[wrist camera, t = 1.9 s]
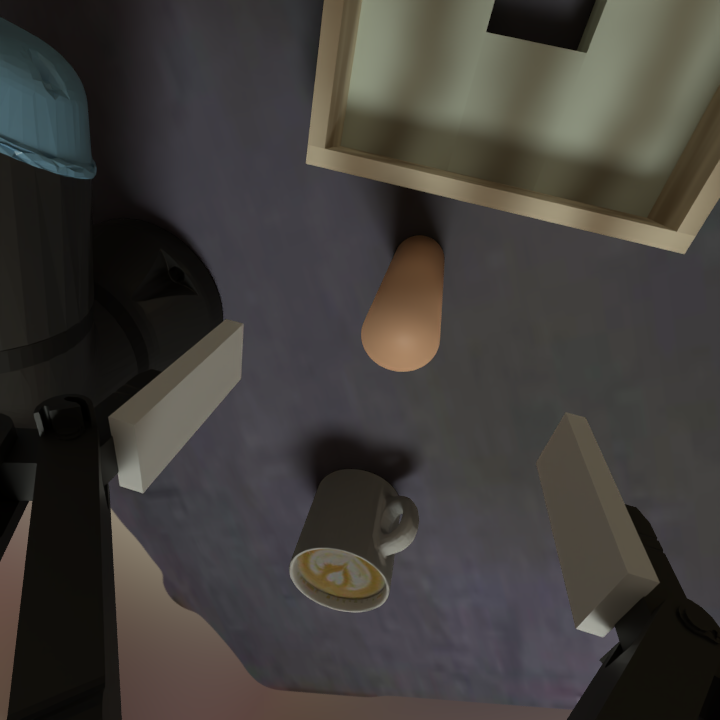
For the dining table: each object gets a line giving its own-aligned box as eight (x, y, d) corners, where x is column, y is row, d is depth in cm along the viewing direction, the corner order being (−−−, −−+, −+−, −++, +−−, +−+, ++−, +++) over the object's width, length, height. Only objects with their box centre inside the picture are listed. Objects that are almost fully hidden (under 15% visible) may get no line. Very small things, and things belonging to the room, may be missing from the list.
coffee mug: (341, 534, 51) (319, 616, 43) (302, 478, 48) (270, 554, 39) (442, 518, 46) (440, 605, 38) (408, 453, 43) (397, 535, 34)
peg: (389, 278, 34) (354, 360, 22) (400, 229, 32) (369, 291, 20) (436, 290, 34) (427, 380, 22) (450, 242, 32) (450, 312, 20)
